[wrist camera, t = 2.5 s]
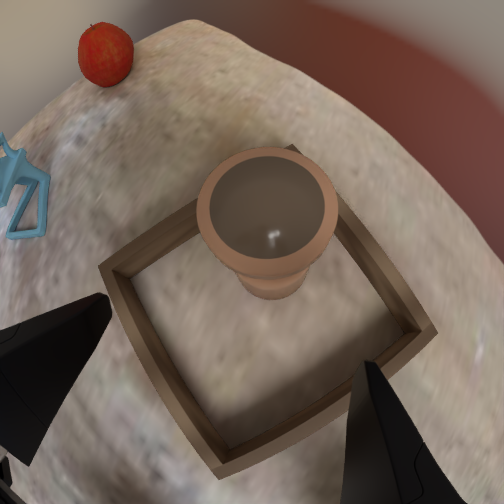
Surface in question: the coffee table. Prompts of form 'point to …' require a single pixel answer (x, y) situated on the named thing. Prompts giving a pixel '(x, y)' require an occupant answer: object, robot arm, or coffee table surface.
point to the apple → (105, 54)
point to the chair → (22, 172)
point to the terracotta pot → (268, 218)
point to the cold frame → (173, 387)
